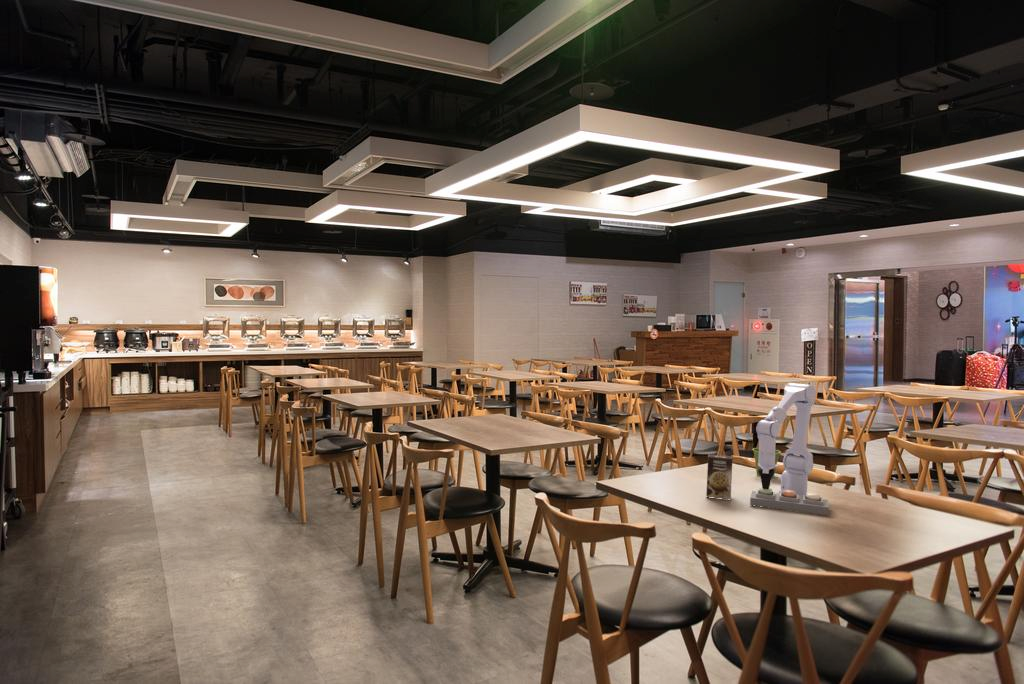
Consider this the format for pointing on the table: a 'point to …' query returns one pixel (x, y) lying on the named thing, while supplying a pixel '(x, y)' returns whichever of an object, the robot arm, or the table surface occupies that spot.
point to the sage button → (765, 491)
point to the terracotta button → (789, 493)
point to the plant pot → (756, 454)
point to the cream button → (813, 496)
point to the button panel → (790, 503)
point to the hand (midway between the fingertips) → (765, 488)
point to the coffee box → (719, 476)
